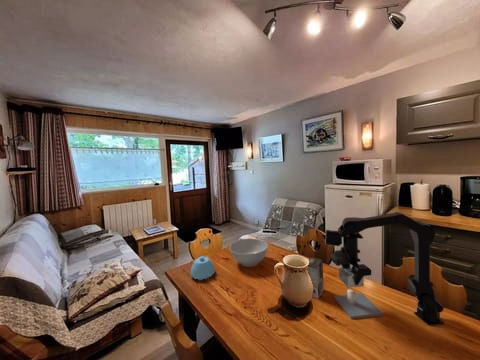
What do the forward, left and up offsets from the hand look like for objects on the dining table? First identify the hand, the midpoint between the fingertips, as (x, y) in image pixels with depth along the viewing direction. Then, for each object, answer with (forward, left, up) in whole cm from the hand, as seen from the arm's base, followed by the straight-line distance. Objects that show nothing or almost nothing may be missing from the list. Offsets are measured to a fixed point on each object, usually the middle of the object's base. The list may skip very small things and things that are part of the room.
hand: (351, 280), depth 89 cm
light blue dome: (+73, -39, -13) cm, 84 cm away
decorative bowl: (+42, -49, -12) cm, 66 cm away
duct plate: (-2, +1, -12) cm, 12 cm away
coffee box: (+12, -12, -12) cm, 21 cm away
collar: (0, 0, -1) cm, 1 cm away
